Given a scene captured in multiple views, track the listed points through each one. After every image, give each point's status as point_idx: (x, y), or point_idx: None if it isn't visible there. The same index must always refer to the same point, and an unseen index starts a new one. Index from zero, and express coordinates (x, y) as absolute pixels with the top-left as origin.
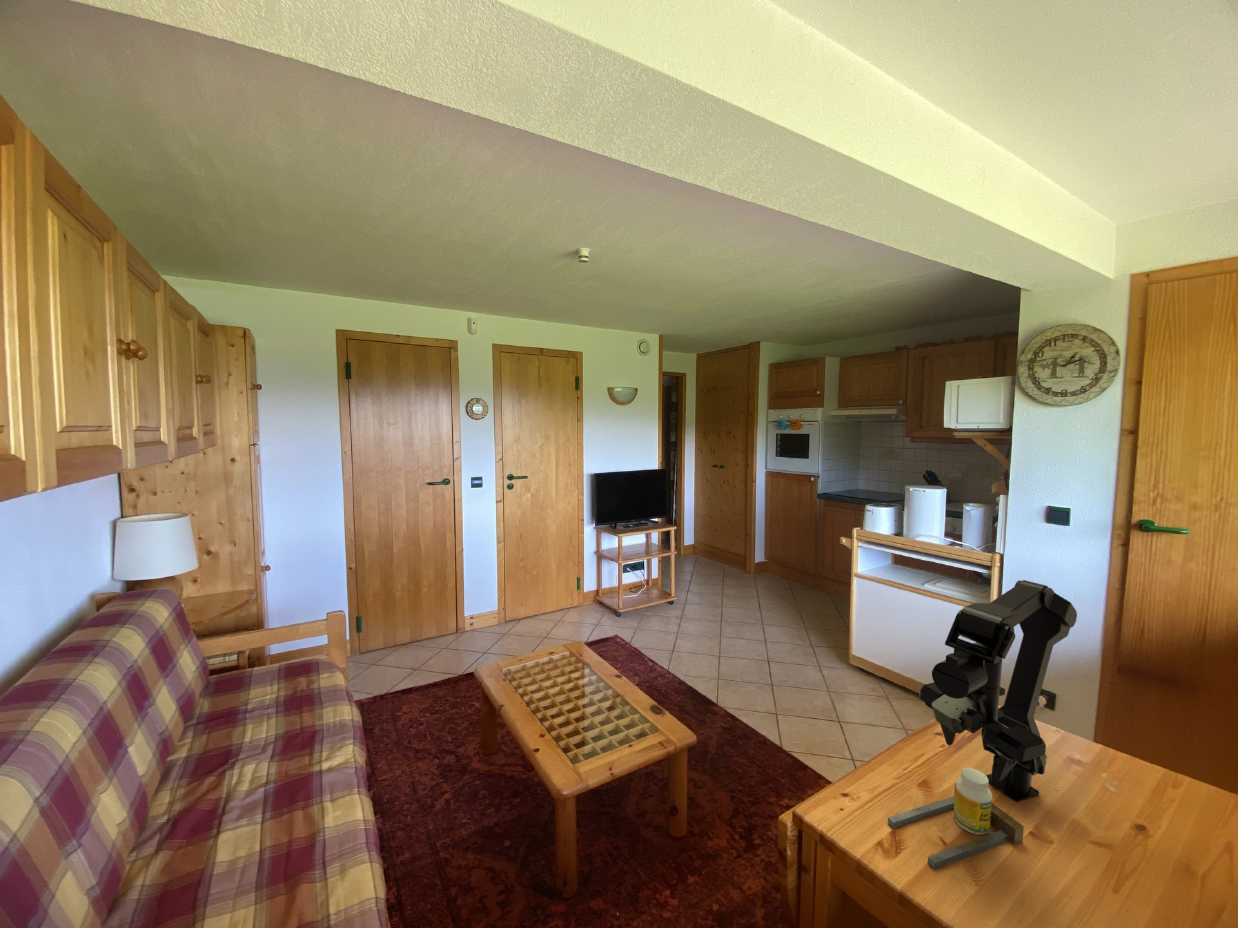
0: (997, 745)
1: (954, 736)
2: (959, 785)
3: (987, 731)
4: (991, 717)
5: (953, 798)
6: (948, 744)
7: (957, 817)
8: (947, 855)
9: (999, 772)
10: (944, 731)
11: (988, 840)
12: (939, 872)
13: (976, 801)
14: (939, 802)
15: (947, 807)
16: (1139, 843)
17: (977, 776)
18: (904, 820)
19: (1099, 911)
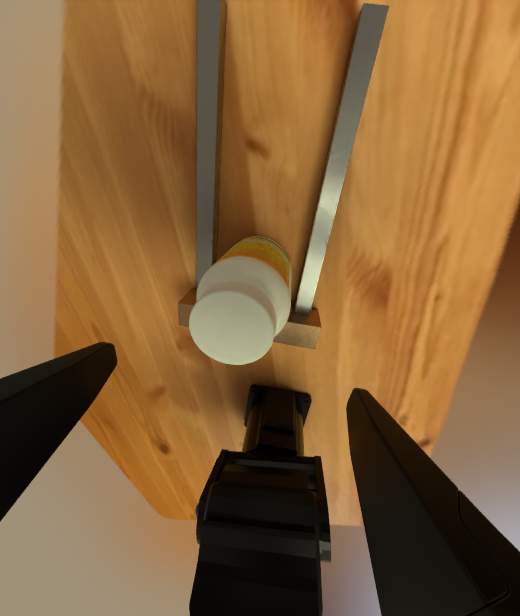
0: (275, 488)
1: (351, 451)
2: (265, 274)
3: (307, 526)
4: None
5: (309, 293)
6: (356, 389)
7: (270, 242)
8: (203, 73)
9: (55, 363)
10: (408, 453)
11: (201, 240)
12: (193, 10)
13: (212, 266)
14: (320, 251)
15: (305, 259)
16: (147, 425)
17: (225, 334)
18: (346, 76)
19: (67, 270)
